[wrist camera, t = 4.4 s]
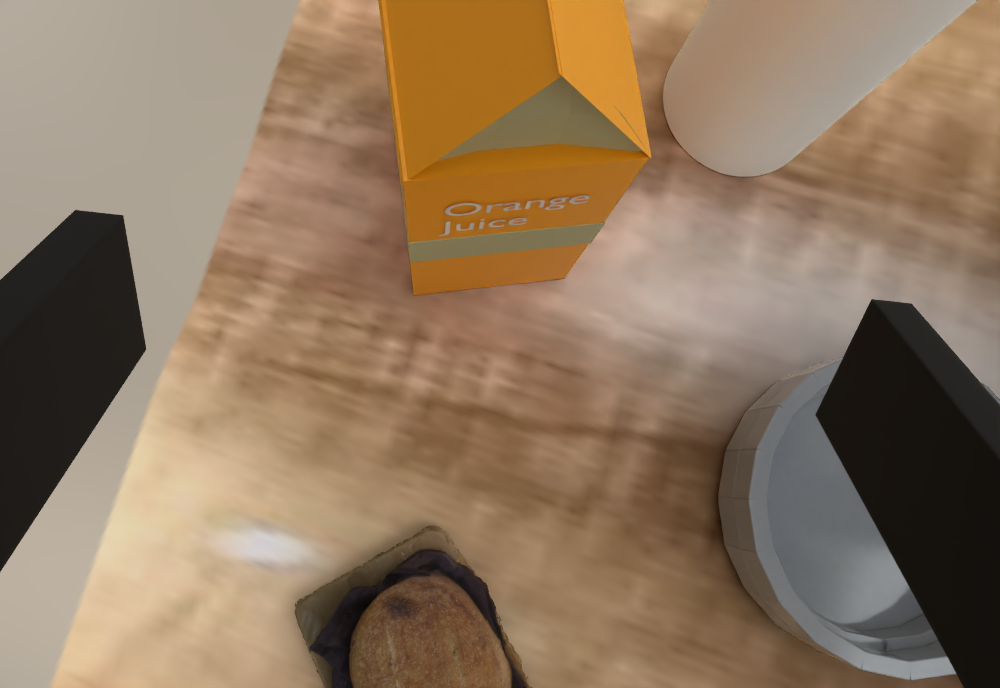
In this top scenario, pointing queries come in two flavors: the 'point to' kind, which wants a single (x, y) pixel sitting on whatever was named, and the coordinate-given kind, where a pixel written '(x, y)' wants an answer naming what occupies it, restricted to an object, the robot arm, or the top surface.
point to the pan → (817, 539)
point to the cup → (786, 72)
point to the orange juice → (509, 133)
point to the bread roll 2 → (409, 623)
